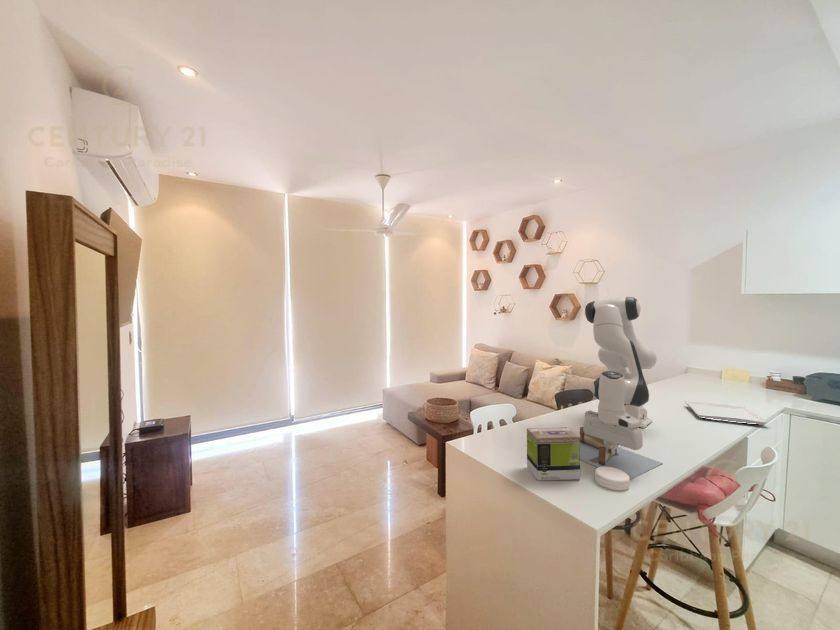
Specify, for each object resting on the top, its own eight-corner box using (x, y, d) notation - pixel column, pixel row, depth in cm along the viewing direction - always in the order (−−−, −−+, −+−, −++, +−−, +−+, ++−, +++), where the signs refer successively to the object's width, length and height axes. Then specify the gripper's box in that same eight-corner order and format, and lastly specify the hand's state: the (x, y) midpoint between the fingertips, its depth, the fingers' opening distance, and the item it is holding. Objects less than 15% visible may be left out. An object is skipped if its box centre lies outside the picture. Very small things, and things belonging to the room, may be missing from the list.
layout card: (591, 438, 149) (591, 437, 149) (662, 463, 125) (663, 462, 125) (556, 449, 137) (556, 448, 137) (627, 480, 113) (627, 479, 113)
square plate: (683, 406, 199) (683, 400, 199) (744, 413, 187) (745, 406, 187) (697, 420, 174) (697, 413, 174) (768, 429, 162) (769, 421, 162)
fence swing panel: (608, 453, 133) (609, 438, 133) (615, 455, 131) (615, 439, 131) (597, 463, 124) (597, 447, 124) (604, 465, 123) (604, 449, 122)
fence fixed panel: (582, 441, 146) (582, 426, 146) (617, 454, 133) (618, 438, 133) (578, 442, 145) (578, 427, 144) (614, 456, 132) (614, 439, 131)
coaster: (600, 490, 108) (601, 479, 107) (590, 474, 117) (590, 464, 117) (635, 493, 106) (635, 482, 106) (621, 477, 116) (622, 467, 116)
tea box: (566, 466, 123) (567, 426, 122) (580, 480, 113) (581, 437, 112) (525, 467, 122) (526, 426, 122) (536, 481, 112) (537, 437, 112)
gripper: (580, 410, 132) (579, 445, 132) (636, 425, 114) (635, 466, 114) (589, 408, 135) (589, 442, 135) (645, 422, 118) (644, 462, 118)
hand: (610, 453), depth 125 cm, fingers closed
